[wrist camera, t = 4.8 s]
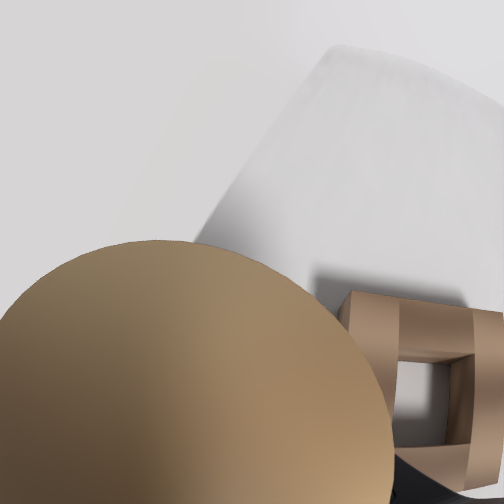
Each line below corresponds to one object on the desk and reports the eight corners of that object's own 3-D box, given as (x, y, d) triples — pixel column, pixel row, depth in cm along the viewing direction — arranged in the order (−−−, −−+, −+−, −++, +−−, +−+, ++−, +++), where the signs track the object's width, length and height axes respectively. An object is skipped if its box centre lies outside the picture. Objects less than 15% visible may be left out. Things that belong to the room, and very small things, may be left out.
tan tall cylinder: (282, 468, 12) (412, 597, 1) (188, 479, 12) (9, 594, 1) (266, 382, 15) (331, 217, 3) (175, 393, 14) (-17, 265, 3)
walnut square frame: (471, 481, 14) (497, 483, 11) (311, 490, 15) (322, 500, 12) (479, 327, 20) (502, 312, 17) (338, 308, 21) (351, 290, 18)
